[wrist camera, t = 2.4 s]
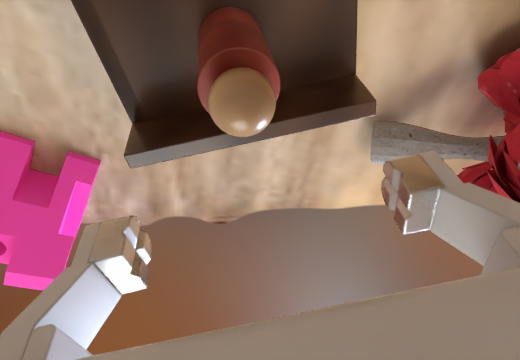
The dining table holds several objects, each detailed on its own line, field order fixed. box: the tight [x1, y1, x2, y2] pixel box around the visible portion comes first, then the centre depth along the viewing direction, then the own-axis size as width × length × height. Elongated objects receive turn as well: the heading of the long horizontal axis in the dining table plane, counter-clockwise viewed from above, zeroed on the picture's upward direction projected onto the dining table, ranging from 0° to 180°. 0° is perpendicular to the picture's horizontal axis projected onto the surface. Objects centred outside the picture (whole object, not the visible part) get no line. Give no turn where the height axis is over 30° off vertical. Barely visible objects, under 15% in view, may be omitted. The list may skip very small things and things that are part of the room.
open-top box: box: [71, 0, 376, 168], centre depth 25 cm, size 17×10×15 cm, turn 100°
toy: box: [197, 7, 280, 137], centre depth 19 cm, size 4×4×10 cm
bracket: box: [0, 131, 101, 290], centre depth 37 cm, size 12×10×10 cm
